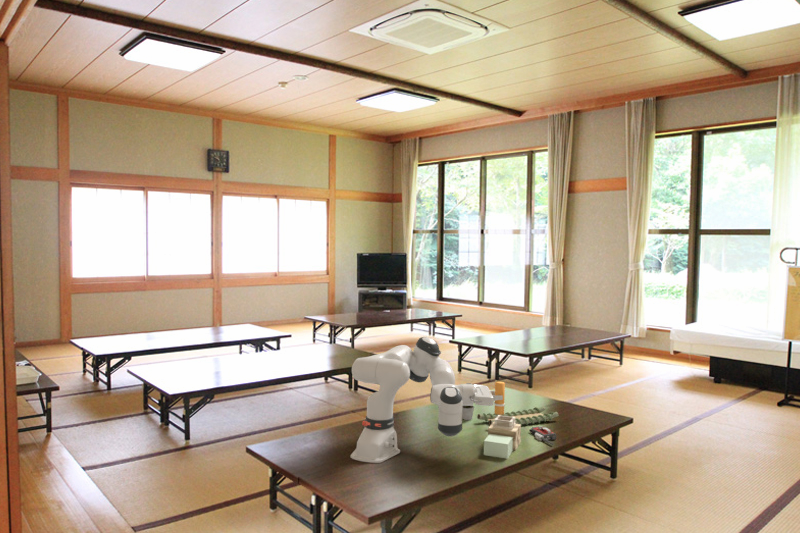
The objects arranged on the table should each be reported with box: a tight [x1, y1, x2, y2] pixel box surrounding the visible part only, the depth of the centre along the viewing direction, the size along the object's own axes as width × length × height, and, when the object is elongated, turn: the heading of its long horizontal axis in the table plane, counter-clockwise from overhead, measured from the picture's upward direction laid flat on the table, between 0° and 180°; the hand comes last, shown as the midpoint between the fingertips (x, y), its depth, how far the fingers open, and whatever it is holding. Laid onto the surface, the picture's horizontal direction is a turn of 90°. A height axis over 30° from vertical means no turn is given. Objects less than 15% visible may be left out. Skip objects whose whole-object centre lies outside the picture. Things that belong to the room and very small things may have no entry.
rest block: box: [483, 434, 514, 460], centre depth 237 cm, size 10×10×6 cm
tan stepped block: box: [487, 415, 522, 451], centre depth 248 cm, size 12×12×12 cm
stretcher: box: [476, 406, 559, 427], centre depth 282 cm, size 41×14×5 cm, turn 114°
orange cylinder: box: [493, 381, 506, 415], centre depth 237 cm, size 4×4×13 cm
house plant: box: [462, 405, 475, 421], centre depth 286 cm, size 14×14×16 cm
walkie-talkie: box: [528, 425, 557, 446], centre depth 257 cm, size 9×4×20 cm
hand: (501, 395), depth 237 cm, fingers closed on orange cylinder, 4 cm apart
